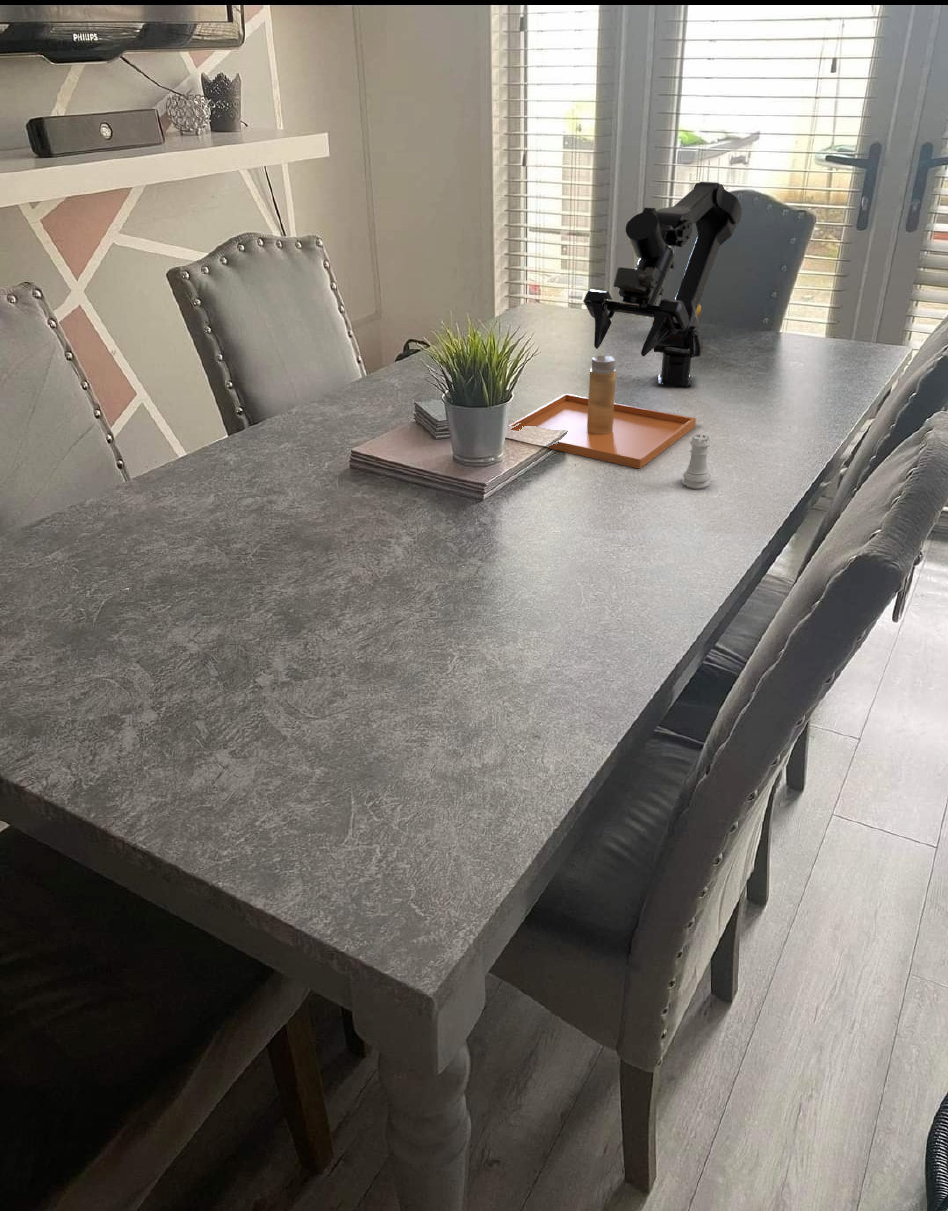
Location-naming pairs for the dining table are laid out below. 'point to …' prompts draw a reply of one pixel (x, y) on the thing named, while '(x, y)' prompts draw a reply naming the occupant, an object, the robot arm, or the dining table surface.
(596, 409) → the disc
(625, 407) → the tray
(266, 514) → the dining table surface
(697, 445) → the rook chess piece
